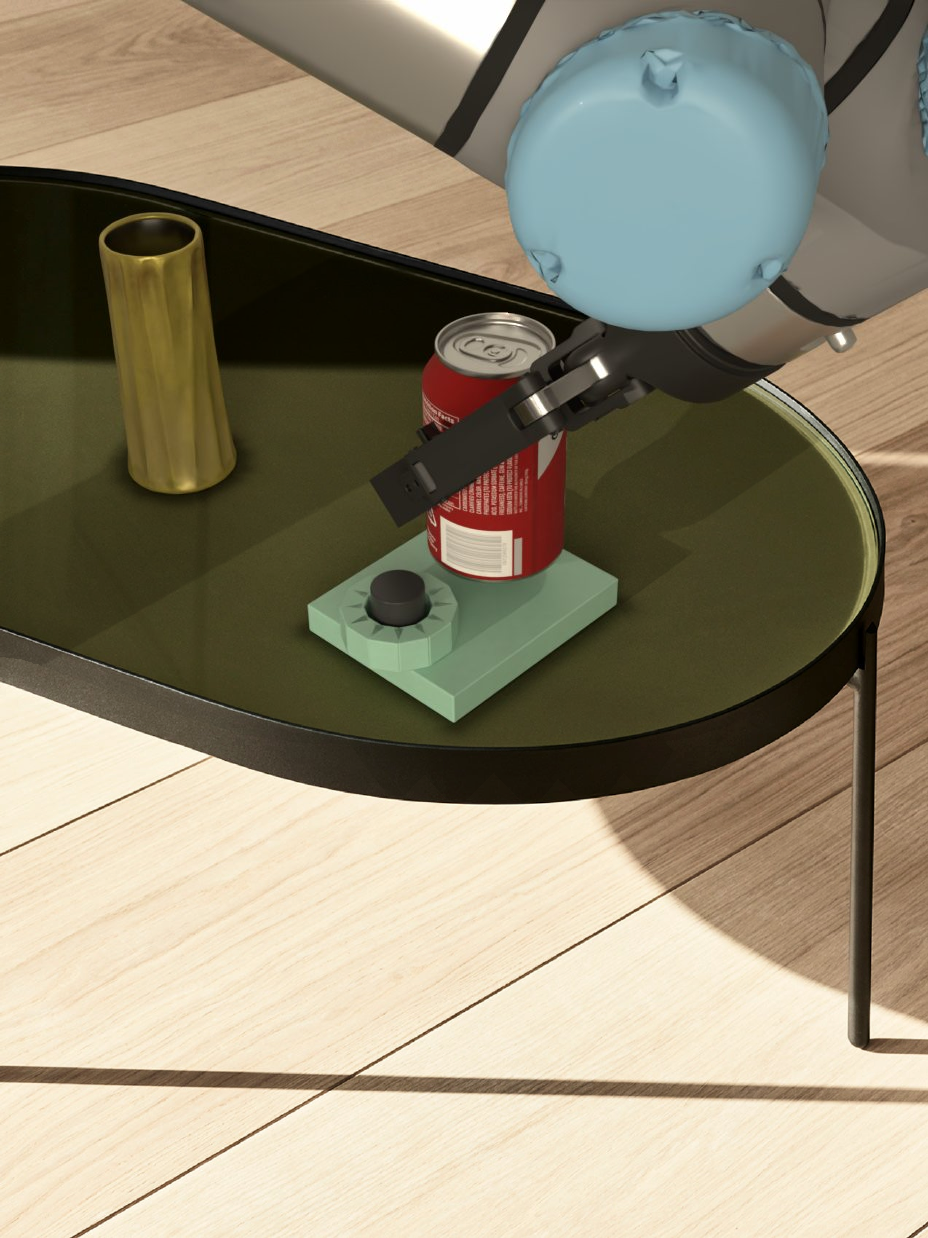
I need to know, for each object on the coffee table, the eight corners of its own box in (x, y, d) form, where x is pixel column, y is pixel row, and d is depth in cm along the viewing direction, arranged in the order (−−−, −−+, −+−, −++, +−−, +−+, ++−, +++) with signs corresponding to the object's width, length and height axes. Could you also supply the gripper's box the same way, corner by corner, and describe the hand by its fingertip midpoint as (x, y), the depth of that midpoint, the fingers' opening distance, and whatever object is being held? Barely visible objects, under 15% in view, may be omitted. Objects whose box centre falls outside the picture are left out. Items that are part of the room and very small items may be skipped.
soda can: (518, 612, 80) (520, 397, 72) (401, 566, 83) (391, 354, 75) (588, 539, 84) (596, 329, 77) (474, 498, 87) (472, 292, 80)
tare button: (398, 636, 79) (397, 610, 78) (360, 612, 80) (358, 586, 79) (437, 610, 80) (436, 584, 79) (398, 587, 81) (397, 561, 80)
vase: (231, 495, 93) (202, 261, 84) (120, 497, 93) (79, 263, 84) (242, 434, 97) (215, 206, 88) (136, 435, 97) (99, 207, 88)
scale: (435, 737, 78) (433, 681, 75) (290, 642, 83) (284, 587, 81) (617, 604, 85) (620, 549, 83) (473, 525, 90) (472, 471, 88)
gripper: (626, 472, 59) (338, 626, 78) (925, 273, 70) (608, 450, 89) (516, 288, 59) (252, 488, 78) (834, 116, 70) (534, 329, 89)
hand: (442, 468), depth 83 cm, fingers closed on soda can, 7 cm apart
